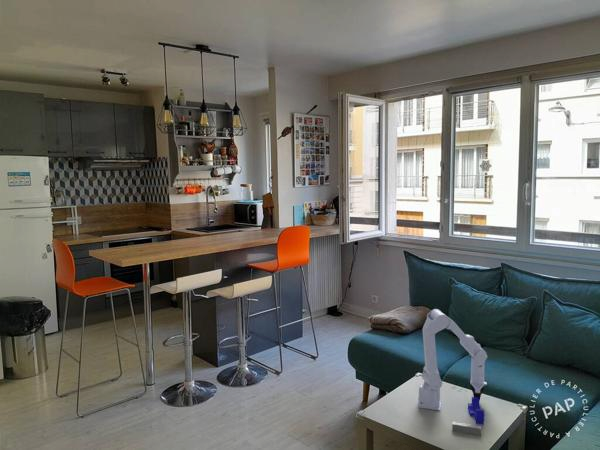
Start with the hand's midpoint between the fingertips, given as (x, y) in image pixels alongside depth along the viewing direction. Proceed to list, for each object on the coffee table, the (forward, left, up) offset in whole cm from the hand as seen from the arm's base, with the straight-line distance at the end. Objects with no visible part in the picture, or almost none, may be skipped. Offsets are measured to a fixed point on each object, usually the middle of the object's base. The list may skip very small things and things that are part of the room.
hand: (476, 400), depth 210 cm
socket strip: (-5, -26, -1) cm, 27 cm away
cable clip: (-1, -12, -2) cm, 12 cm away
